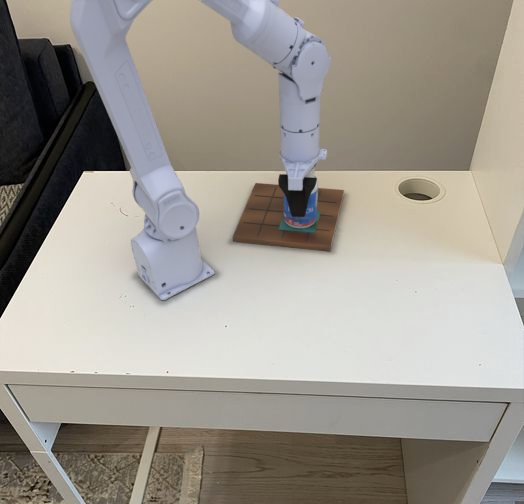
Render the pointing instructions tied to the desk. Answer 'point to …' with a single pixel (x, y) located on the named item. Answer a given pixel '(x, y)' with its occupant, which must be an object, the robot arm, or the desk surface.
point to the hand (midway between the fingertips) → (300, 204)
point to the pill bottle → (310, 212)
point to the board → (275, 228)
